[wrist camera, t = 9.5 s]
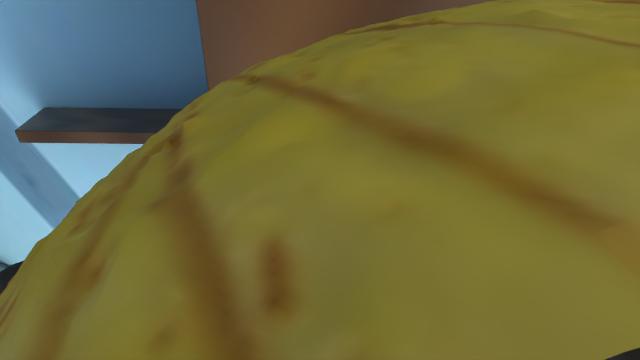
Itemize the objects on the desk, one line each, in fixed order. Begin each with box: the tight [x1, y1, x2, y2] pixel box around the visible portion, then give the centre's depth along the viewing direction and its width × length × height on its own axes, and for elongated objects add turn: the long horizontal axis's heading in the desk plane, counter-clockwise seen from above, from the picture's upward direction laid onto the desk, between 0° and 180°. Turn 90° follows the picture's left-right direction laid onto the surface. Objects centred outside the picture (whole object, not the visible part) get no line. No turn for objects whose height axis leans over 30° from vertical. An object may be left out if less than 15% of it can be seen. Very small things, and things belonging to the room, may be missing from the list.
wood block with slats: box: [15, 0, 494, 144], centre depth 24 cm, size 30×18×11 cm, turn 89°
